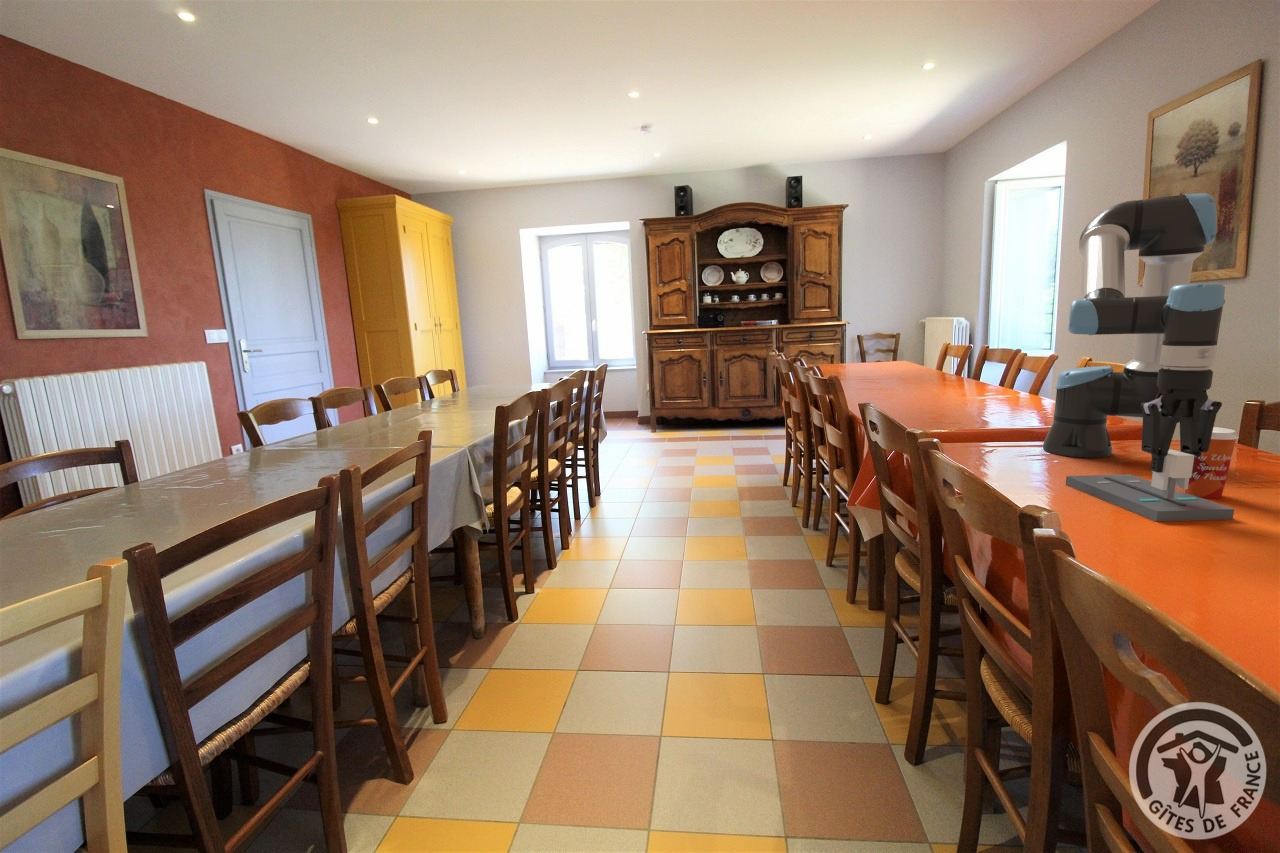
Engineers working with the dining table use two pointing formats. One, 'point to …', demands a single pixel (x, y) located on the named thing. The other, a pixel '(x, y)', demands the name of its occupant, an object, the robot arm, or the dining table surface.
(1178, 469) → the fader
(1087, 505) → the dining table surface
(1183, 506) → the console board
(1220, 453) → the paper cup
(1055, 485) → the dining table surface
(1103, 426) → the robot arm
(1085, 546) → the dining table surface
